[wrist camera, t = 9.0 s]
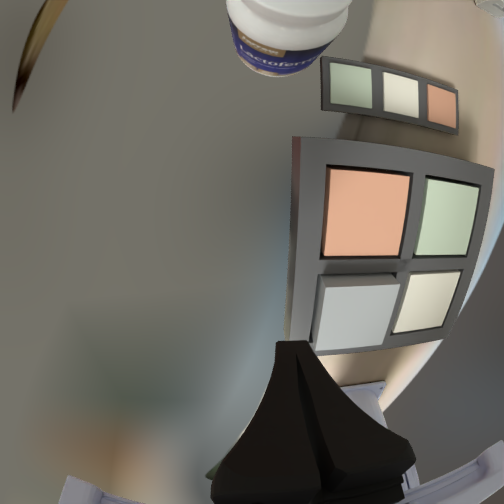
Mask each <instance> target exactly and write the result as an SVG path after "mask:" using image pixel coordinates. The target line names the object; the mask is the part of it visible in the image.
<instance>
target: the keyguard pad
mask: <svg viewBox="0 0 504 504" xmlns="http://www.w3.org/2000/svg"><path fill="white" fill-rule="evenodd" d="M326 164H334V165H348V166H360V167H371V168H380V169H389V170H392V171H395V172H397V173H400V174H403V175H406V176H409V177H410V178H409V188H408V196H407V204H406V211H405V218H404V224H403V230H402V236H401V241H400V247H399V252H398V255H363V256H324V254H323V253H322V251H321V249H320V247H321V236H322V224H323V211H324V196H325V177H326ZM291 173H292V174H291V208H290V210H291V211H290V233H289V254H288V273H287V289H286V304H285V318H284V335H285V341H293V340H307V341H308V342H309V344H310V346H311V347H312V349H313V351H314V353H315V354H316V356H324V355H337V354H348V353H358V352H366V351H375V350H382V349H389V348H396V347H403V346H409V345H415V344H420V343H426V342H431V341H436V340H441V339H446V338H448V337H449V335H450V333H451V330H452V328H453V326H454V324H455V321H456V319H457V316H458V314H459V311H460V309H461V306H462V304H463V301H464V298H465V296H466V293H467V290H468V287H469V284H470V281H471V278H472V275H473V272H474V269H475V265H476V262H477V259H478V255H479V251H480V248H481V244H482V240H483V235H484V231H485V226H486V222H487V217H488V211H489V206H490V200H491V193H492V186H493V178H494V169H493V168H490V167H487V166H483V165H480V164H476V163H472V162H469V161H465V160H461V159H457V158H453V157H448V156H444V155H439V154H435V153H430V152H425V151H420V150H414V149H409V148H403V147H397V146H390V145H384V144H376V143H369V142H360V141H351V140H341V139H329V138H315V137H293V136H292V172H291ZM425 175H433V176H439V177H445V178H450V179H455V180H458V181H461V182H464V183H466V184H469V185H472V186H475V187H477V188H479V191H478V198H477V204H476V210H475V216H474V221H473V226H472V230H471V235H470V239H469V243H468V247H467V251H466V254H460V255H415V254H414V253H413V251H414V246H415V241H416V236H417V231H418V226H419V220H420V214H421V207H422V200H423V193H424V184H425ZM453 269H457V270H458V271H460V276H459V279H458V282H457V285H456V288H455V291H454V294H453V297H452V300H451V302H450V305H449V308H448V310H447V313H446V316H445V318H444V321H443V323H442V325H441V326H436V327H430V328H424V329H418V330H411V331H404V332H397V333H393V331H392V327H393V324H394V321H395V318H396V315H397V312H398V309H399V305H400V302H401V298H402V295H403V291H404V288H405V284H406V280H407V276H408V273H409V271H433V270H453ZM381 272H390V273H391V274H392V275H393V276H394V277H395V279H396V280H397V281H398V282H399V283H400V287H399V291H398V295H397V298H396V302H395V305H394V308H393V312H392V315H391V318H390V321H389V325H388V328H387V331H386V334H385V337H384V340H383V342H382V345H373V346H365V347H355V348H345V349H333V350H319V351H315V347H314V343H313V339H312V335H311V331H310V329H311V322H312V315H313V308H314V300H315V292H316V284H317V276H318V274H345V273H381Z"/></svg>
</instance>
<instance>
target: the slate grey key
mask: <svg viewBox="0 0 504 504" xmlns="http://www.w3.org/2000/svg"><path fill="white" fill-rule="evenodd" d="M399 287H400V283H399V282H398V281H397V280H396V279H395V277H394V276H393V275H392V274H391V273H390V272H381V273H345V274H318V276H317V284H316V292H315V300H314V308H313V315H312V322H311V329H310V331H311V335H312V339H313V343H314V347H315V351H319V350H333V349H345V348H355V347H365V346H373V345H382V342H383V340H384V337H385V334H386V331H387V328H388V325H389V321H390V318H391V315H392V312H393V308H394V305H395V302H396V298H397V295H398V291H399Z"/></svg>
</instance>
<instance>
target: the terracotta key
mask: <svg viewBox="0 0 504 504" xmlns="http://www.w3.org/2000/svg"><path fill="white" fill-rule="evenodd" d="M409 178H410V177H409V176H406V175H403V174H400V173H397V172H395V171H392V170H387V169H378V168H368V167H357V166H344V165H329V164H326V177H325V196H324V211H323V224H322V236H321V247H320V249H321V251H322V253H323V254H324V256H363V255H398V252H399V247H400V241H401V236H402V230H403V224H404V218H405V211H406V204H407V196H408V188H409Z"/></svg>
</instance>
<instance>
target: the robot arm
mask: <svg viewBox="0 0 504 504" xmlns="http://www.w3.org/2000/svg"><path fill="white" fill-rule="evenodd" d="M385 386H386V382H385V381H380V382H374V383H368V384H361V385H354V386H346V387H339V386H338V385H337V383H336V382H335V381H334V380H333V378H332V377H331V376H330V375H329V373H328V372H327V370H326V369H325V368H324V366H323V365H322V363H321V362H320V360H319V359H318V357H317V356H316V354H315V353H314V351H313V349H312V347H311V346H310V344H309V342H308V341H307V340H293V341H278V342H276V349H275V363H274V367H273V371H272V374H271V378H270V381H269V383H268V386H267V389H266V392H265V394H264V396H263V399H262V401H261V403H260V405H259V407H258V409H257V411H256V413H255V415H254V417H253V418H252V420H251V422H250V424H249V425H248V427H247V428H246V430H245V431H244V433H243V434H242V436H241V437H240V439H239V440H238V442H237V443H236V444H235V446H234V447H233V448H232V449H231V451H230V452H229V453H228V454H227V455H226V457H225V458H224V459H223V460H222V462H221V464H220V466H219V468H218V470H217V472H216V474H215V476H214V478H213V481H212V485H211V499H212V501H213V502H214V504H479V503H481V502H482V501H484V500H485V499H486V498H488V497H489V496H490V495H492V494H493V493H495V492H496V491H497V490H499V489H500V488H501V487H503V486H504V443H503V441H502V440H500V441H499V442H497V443H496V444H494V445H493V446H491V447H489V448H488V449H486V450H485V451H484V452H483V453H482V454H480V455H479V456H478V457H477V458H476V459H475V460H473V461H471V462H469V463H467V464H465V465H464V466H462V467H460V468H458V469H456V470H454V471H452V472H450V473H448V474H446V475H443V476H441V477H439V478H437V479H434V480H432V481H430V482H427V483H425V484H422V485H420V483H419V478H418V475H417V471H416V468H415V465H414V463H415V461H416V457H415V454H414V452H413V449H412V447H411V445H410V443H409V441H408V440H407V439H405V438H403V437H401V436H399V435H397V434H395V433H394V432H392V431H390V430H388V428H387V425H386V422H385V419H384V416H383V414H382V411H381V408H380V405H379V402H378V400H379V398H380V396H381V394H382V392H383V390H384V388H385ZM58 504H144V503H139V502H136V501H132V500H129V499H125V498H122V497H118V496H115V495H112V494H109V493H106V492H103V491H102V490H101V489H100V488H98V487H97V486H95V485H93V484H91V483H88V482H86V481H83V480H81V479H78V478H75V477H73V476H71V475H68V476H67V479H66V482H65V485H64V488H63V491H62V494H61V497H60V500H59V503H58Z"/></svg>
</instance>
